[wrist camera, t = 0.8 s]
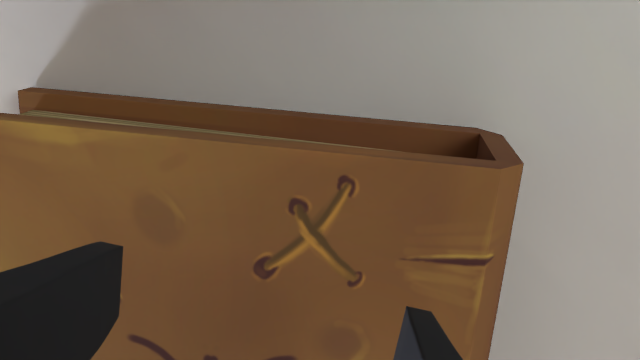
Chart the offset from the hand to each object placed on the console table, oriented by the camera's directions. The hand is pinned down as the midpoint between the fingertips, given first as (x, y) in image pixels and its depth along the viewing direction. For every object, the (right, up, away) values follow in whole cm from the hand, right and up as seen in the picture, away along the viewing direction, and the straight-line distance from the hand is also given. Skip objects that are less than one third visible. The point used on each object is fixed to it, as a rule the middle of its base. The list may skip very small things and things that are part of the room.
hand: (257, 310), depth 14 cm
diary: (-2, -5, +12) cm, 13 cm away
